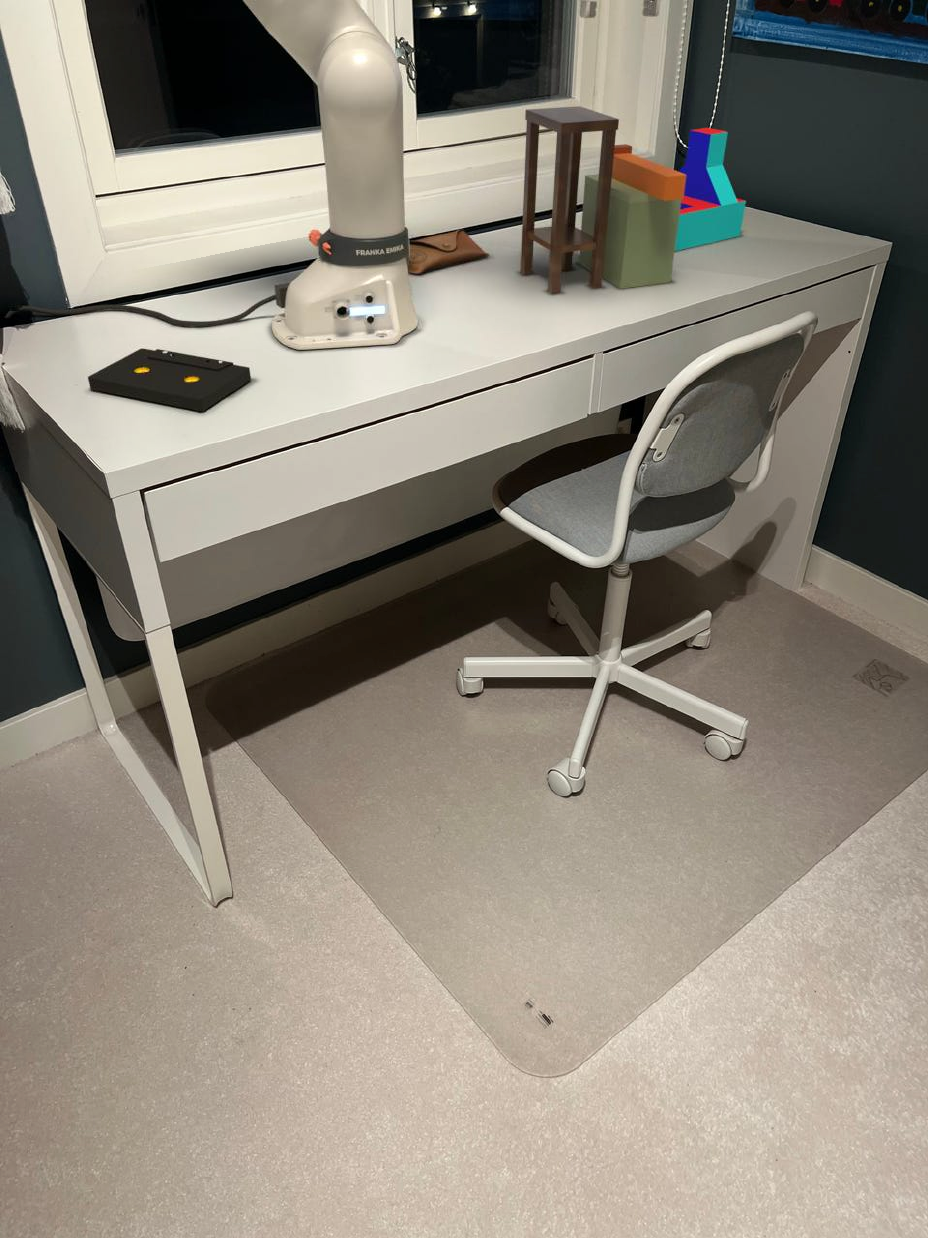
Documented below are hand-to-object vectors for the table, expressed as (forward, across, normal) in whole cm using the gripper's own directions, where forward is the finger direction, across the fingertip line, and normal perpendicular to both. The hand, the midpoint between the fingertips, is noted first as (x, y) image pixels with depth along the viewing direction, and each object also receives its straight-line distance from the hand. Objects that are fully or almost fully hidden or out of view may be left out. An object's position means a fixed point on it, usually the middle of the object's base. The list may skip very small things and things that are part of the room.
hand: (619, 16), depth 125 cm
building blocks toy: (+41, -40, -44) cm, 72 cm away
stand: (+41, -6, -21) cm, 46 cm away
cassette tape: (+41, +64, +1) cm, 77 cm away
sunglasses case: (+41, +10, -39) cm, 58 cm away
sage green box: (+41, -18, -21) cm, 49 cm away
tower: (+26, -18, -18) cm, 36 cm away
